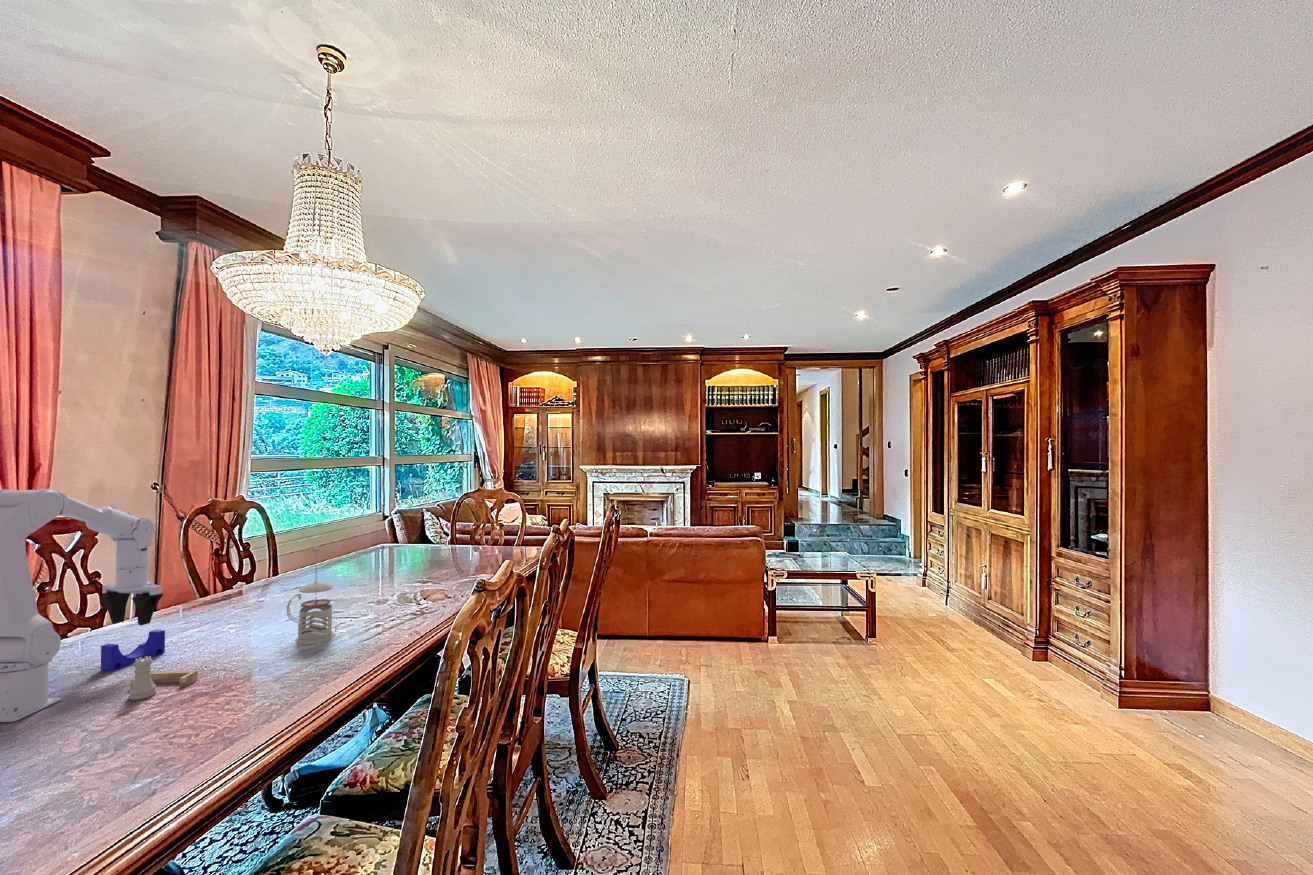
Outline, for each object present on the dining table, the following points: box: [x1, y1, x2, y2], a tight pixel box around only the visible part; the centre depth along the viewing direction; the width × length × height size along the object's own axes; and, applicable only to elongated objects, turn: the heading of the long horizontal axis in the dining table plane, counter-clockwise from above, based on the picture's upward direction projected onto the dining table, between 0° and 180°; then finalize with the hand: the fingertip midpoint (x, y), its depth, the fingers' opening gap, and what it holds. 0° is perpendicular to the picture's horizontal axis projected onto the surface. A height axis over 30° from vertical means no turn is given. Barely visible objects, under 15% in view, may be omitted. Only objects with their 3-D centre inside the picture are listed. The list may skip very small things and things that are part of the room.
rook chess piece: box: [128, 656, 157, 701], centre depth 118 cm, size 4×4×8 cm
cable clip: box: [100, 629, 166, 672], centre depth 138 cm, size 12×4×6 cm, turn 169°
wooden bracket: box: [129, 670, 199, 690], centre depth 124 cm, size 4×11×2 cm, turn 95°
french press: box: [286, 546, 337, 645], centre depth 155 cm, size 10×12×25 cm
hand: (131, 623), depth 136 cm, fingers open, 7 cm apart
